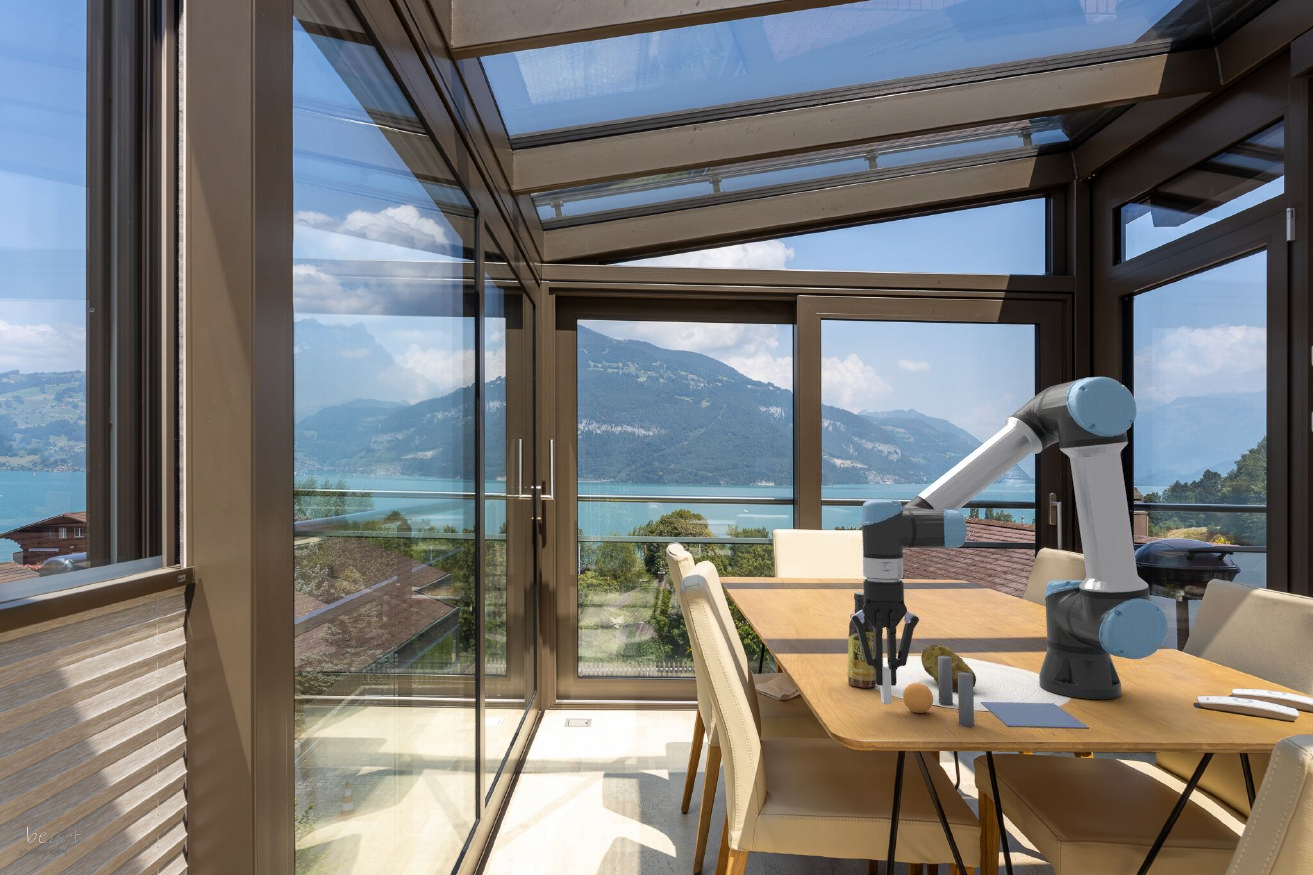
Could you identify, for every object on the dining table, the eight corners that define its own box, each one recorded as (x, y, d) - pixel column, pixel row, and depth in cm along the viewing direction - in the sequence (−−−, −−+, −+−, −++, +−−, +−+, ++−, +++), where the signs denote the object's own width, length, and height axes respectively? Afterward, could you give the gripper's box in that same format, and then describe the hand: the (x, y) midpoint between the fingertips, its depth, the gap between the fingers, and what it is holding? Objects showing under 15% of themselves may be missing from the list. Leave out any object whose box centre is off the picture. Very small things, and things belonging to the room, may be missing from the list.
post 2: (971, 721, 136) (970, 672, 136) (976, 726, 133) (975, 676, 134) (957, 721, 136) (955, 672, 136) (961, 726, 133) (960, 676, 134)
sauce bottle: (852, 689, 157) (850, 595, 158) (844, 681, 163) (842, 590, 164) (883, 689, 157) (881, 595, 158) (873, 680, 163) (871, 590, 164)
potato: (942, 694, 153) (941, 655, 153) (916, 678, 165) (915, 642, 166) (980, 694, 153) (979, 655, 154) (952, 677, 166) (951, 641, 166)
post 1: (950, 701, 148) (949, 655, 149) (954, 705, 146) (953, 659, 146) (937, 700, 148) (936, 655, 149) (941, 704, 146) (939, 658, 146)
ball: (895, 684, 145) (906, 711, 144) (902, 693, 139) (913, 720, 139) (922, 675, 144) (933, 702, 144) (930, 683, 139) (941, 711, 138)
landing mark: (1053, 704, 146) (1053, 703, 146) (1088, 728, 132) (1088, 727, 132) (980, 702, 147) (980, 701, 147) (1007, 726, 133) (1007, 725, 133)
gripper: (852, 581, 140) (855, 707, 139) (922, 582, 139) (926, 709, 138) (846, 576, 148) (848, 695, 146) (912, 576, 146) (915, 697, 145)
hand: (886, 702), depth 142 cm, fingers closed
